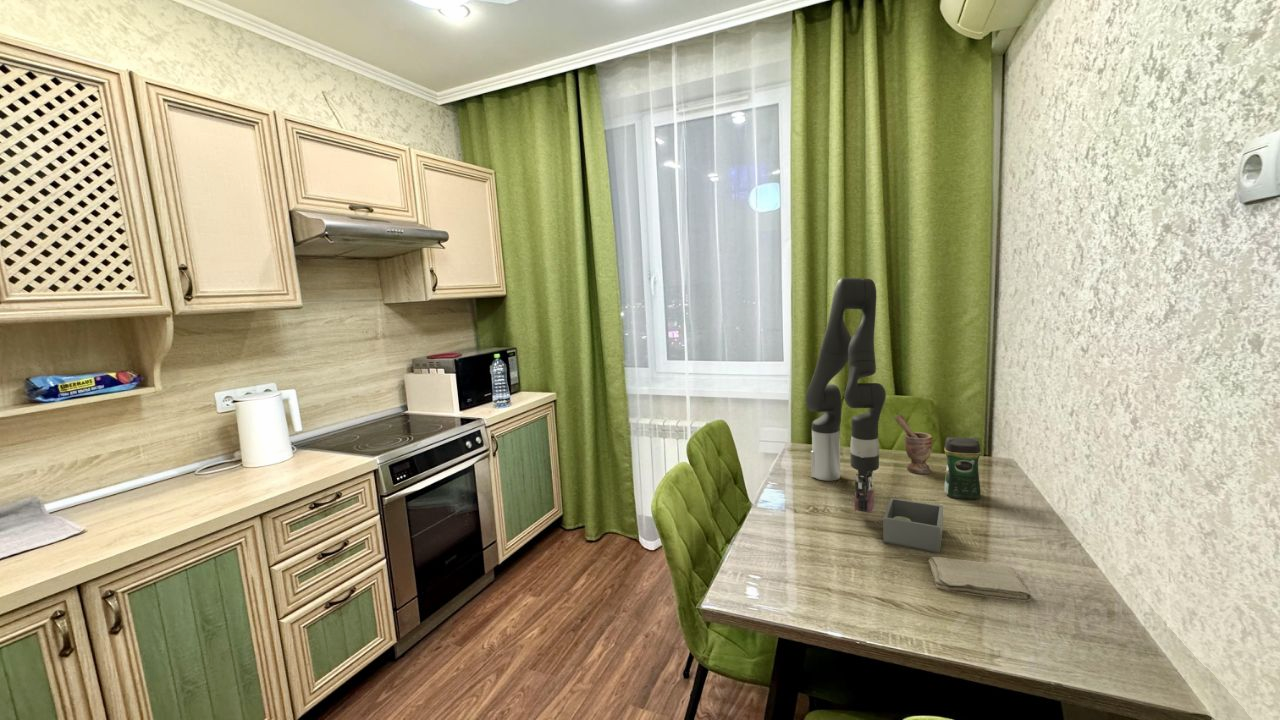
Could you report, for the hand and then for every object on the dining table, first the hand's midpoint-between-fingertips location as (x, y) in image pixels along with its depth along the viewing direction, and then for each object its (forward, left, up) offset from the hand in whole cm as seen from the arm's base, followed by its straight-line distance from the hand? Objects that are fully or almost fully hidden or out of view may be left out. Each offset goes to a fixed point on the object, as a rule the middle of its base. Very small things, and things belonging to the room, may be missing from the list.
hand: (864, 507), depth 148 cm
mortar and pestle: (+9, +46, -4) cm, 47 cm away
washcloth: (+27, -22, -4) cm, 35 cm away
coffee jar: (+24, +29, -4) cm, 38 cm away
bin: (+13, -5, -4) cm, 15 cm away
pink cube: (0, 0, 0) cm, 0 cm away
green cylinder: (+11, -8, -3) cm, 14 cm away
